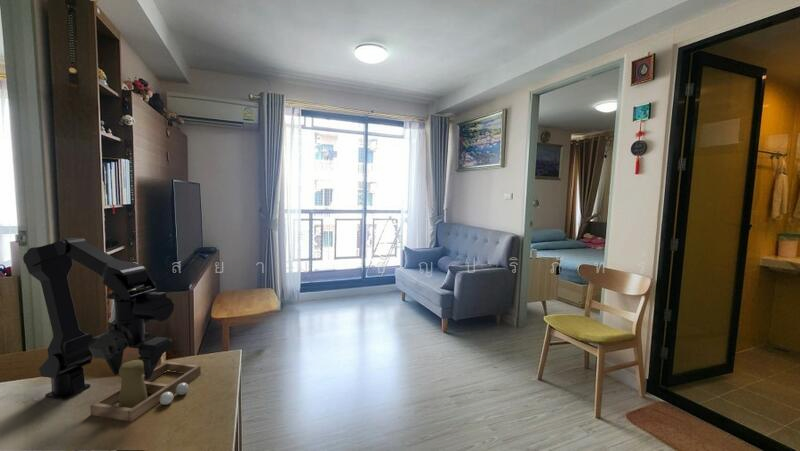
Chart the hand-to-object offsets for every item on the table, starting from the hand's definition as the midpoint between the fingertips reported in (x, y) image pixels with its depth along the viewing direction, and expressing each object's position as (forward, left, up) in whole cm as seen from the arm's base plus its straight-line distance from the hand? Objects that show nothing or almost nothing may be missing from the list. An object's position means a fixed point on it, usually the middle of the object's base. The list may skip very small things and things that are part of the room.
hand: (132, 376), depth 86 cm
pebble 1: (+8, +2, -7) cm, 11 cm away
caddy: (0, +5, -7) cm, 9 cm away
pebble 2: (+9, +6, -7) cm, 13 cm away
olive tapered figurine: (0, 0, -8) cm, 8 cm away
